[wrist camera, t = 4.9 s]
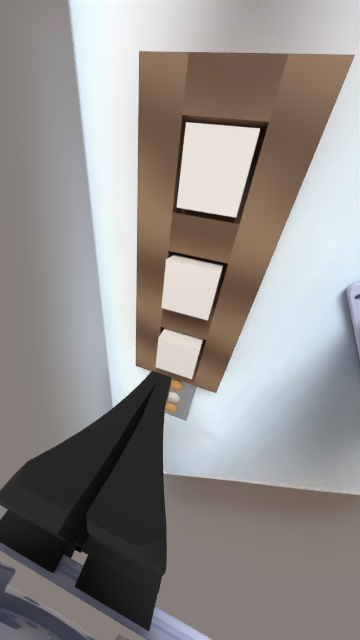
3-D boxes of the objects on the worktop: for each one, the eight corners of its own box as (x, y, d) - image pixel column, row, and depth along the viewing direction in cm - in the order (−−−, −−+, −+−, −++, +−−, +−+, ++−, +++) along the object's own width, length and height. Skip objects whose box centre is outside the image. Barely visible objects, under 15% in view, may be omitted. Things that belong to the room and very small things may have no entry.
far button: (195, 366, 18) (191, 379, 16) (162, 355, 18) (155, 367, 17) (203, 338, 16) (199, 350, 14) (165, 327, 16) (158, 337, 15)
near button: (236, 217, 11) (236, 217, 10) (183, 208, 12) (176, 207, 11) (257, 141, 10) (260, 128, 8) (193, 135, 10) (186, 122, 9)
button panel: (218, 374, 20) (216, 392, 18) (145, 351, 21) (135, 365, 19) (327, 93, 9) (355, 54, 7) (159, 85, 10) (139, 51, 8)
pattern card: (186, 418, 26) (185, 422, 25) (155, 406, 27) (153, 410, 26) (198, 377, 21) (197, 382, 20) (160, 365, 22) (157, 369, 21)
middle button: (210, 310, 14) (207, 320, 13) (168, 299, 15) (161, 307, 13) (223, 265, 12) (221, 271, 11) (174, 254, 13) (166, 259, 11)
